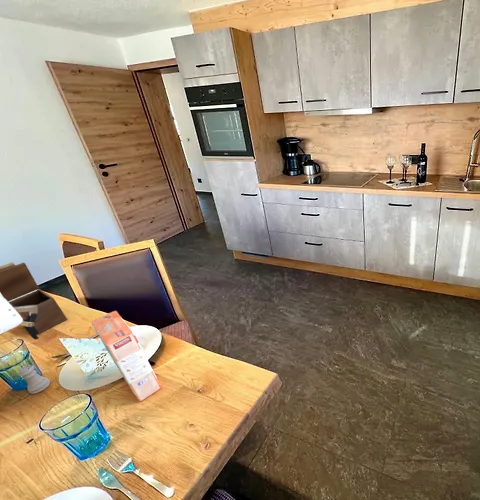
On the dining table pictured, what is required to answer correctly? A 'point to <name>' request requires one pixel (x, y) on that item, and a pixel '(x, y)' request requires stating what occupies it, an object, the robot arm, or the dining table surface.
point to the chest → (41, 310)
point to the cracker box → (127, 354)
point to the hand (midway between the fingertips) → (11, 350)
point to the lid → (16, 281)
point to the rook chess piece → (33, 379)
